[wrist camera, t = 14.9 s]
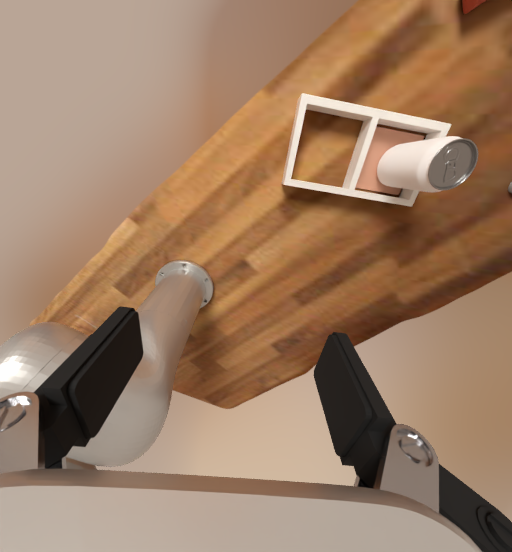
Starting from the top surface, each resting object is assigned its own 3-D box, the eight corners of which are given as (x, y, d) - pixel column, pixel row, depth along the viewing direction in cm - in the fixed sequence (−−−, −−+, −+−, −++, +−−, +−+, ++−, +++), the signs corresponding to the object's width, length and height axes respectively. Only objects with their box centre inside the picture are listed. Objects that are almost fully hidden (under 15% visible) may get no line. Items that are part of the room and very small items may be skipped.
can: (414, 137, 34) (486, 124, 24) (414, 178, 37) (478, 183, 26) (374, 152, 35) (425, 146, 25) (376, 191, 38) (424, 201, 27)
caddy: (401, 204, 39) (411, 206, 37) (281, 183, 38) (283, 184, 35) (436, 127, 34) (451, 124, 31) (298, 99, 32) (301, 93, 29)
